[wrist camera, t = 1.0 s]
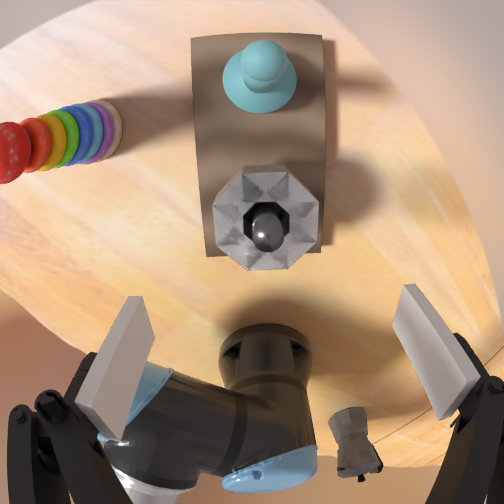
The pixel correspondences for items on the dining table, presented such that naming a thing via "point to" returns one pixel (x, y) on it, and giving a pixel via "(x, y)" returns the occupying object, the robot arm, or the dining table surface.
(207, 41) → the walnut board
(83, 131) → the stacking toy
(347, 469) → the coffeepot
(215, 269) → the dining table surface
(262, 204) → the stand rod
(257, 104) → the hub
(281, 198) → the steel ring
